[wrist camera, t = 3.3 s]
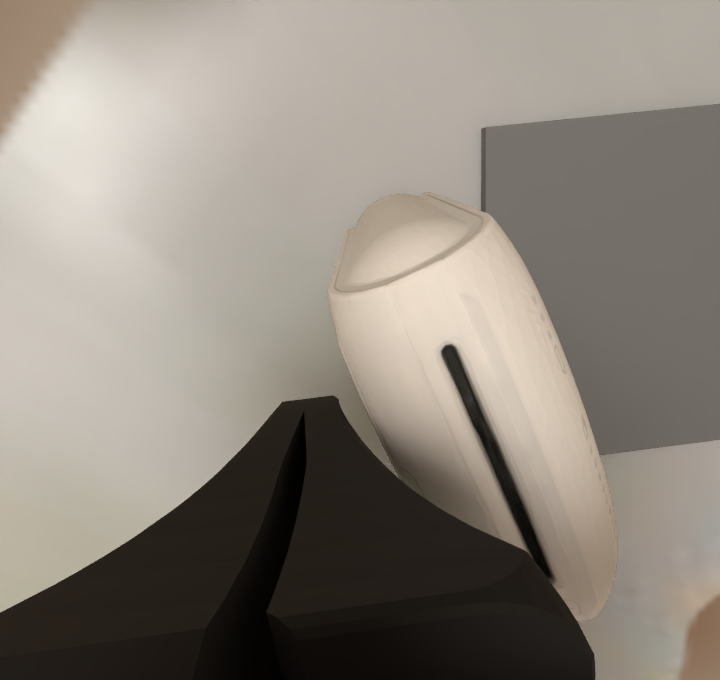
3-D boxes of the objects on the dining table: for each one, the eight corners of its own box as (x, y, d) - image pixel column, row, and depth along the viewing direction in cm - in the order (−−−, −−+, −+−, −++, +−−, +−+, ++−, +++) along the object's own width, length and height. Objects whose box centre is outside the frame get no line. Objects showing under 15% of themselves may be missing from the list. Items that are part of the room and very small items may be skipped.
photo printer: (511, 384, 20) (700, 661, 9) (427, 416, 21) (498, 712, 9) (430, 173, 17) (559, 170, 5) (333, 221, 18) (267, 307, 6)
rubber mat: (726, 432, 23) (734, 437, 23) (480, 464, 22) (483, 470, 22) (807, 96, 17) (820, 93, 17) (481, 128, 17) (486, 127, 16)
